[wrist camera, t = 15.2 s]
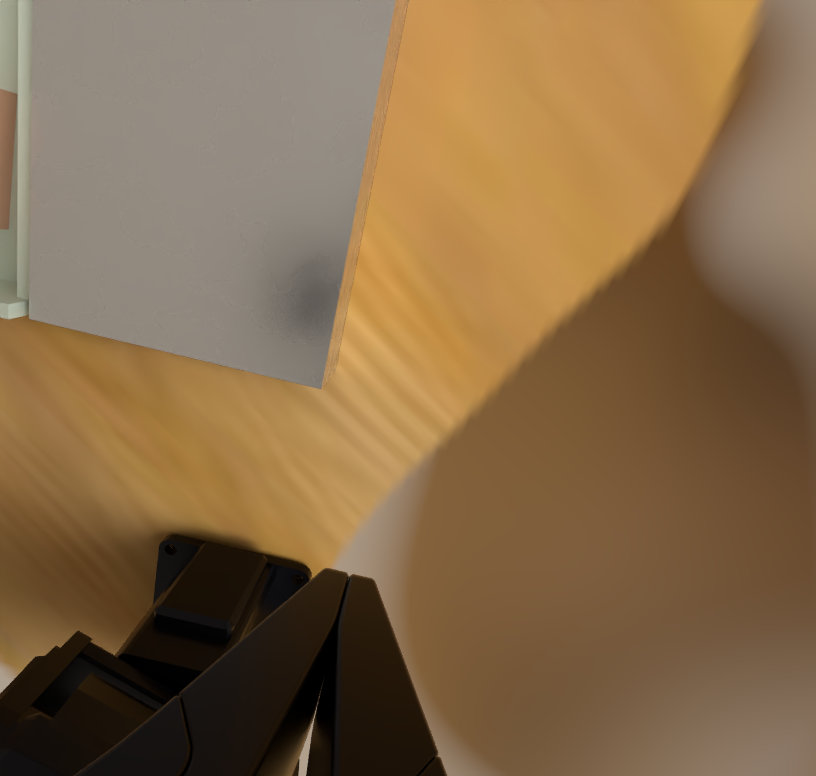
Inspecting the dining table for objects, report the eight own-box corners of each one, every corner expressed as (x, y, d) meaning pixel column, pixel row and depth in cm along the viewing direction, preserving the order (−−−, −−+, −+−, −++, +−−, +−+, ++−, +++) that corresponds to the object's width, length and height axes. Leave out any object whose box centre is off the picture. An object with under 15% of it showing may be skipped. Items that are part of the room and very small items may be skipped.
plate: (335, 369, 20) (321, 389, 18) (78, 307, 20) (28, 318, 18) (455, -237, 15) (458, -326, 12) (103, -326, 15) (37, -434, 12)
